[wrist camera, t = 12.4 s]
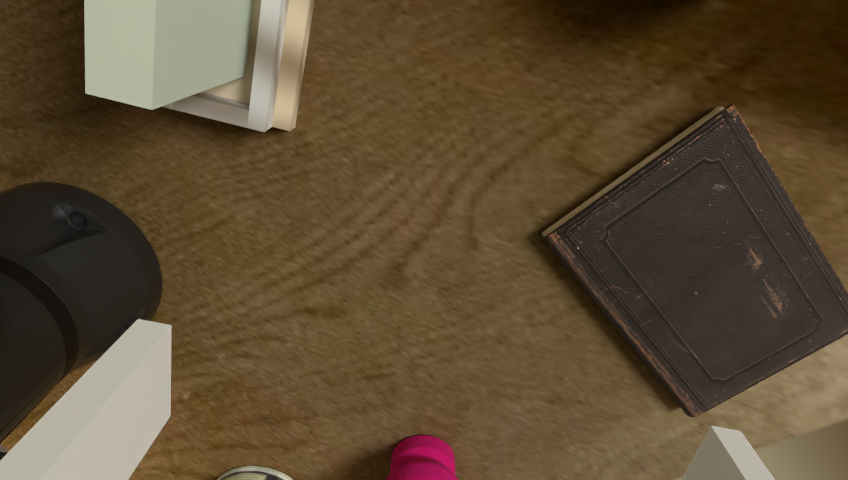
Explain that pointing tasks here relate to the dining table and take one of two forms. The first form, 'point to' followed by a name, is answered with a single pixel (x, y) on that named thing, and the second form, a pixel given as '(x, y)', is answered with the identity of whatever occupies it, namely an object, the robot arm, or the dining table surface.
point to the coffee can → (254, 474)
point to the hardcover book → (705, 265)
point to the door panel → (163, 48)
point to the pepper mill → (422, 460)
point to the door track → (262, 71)
